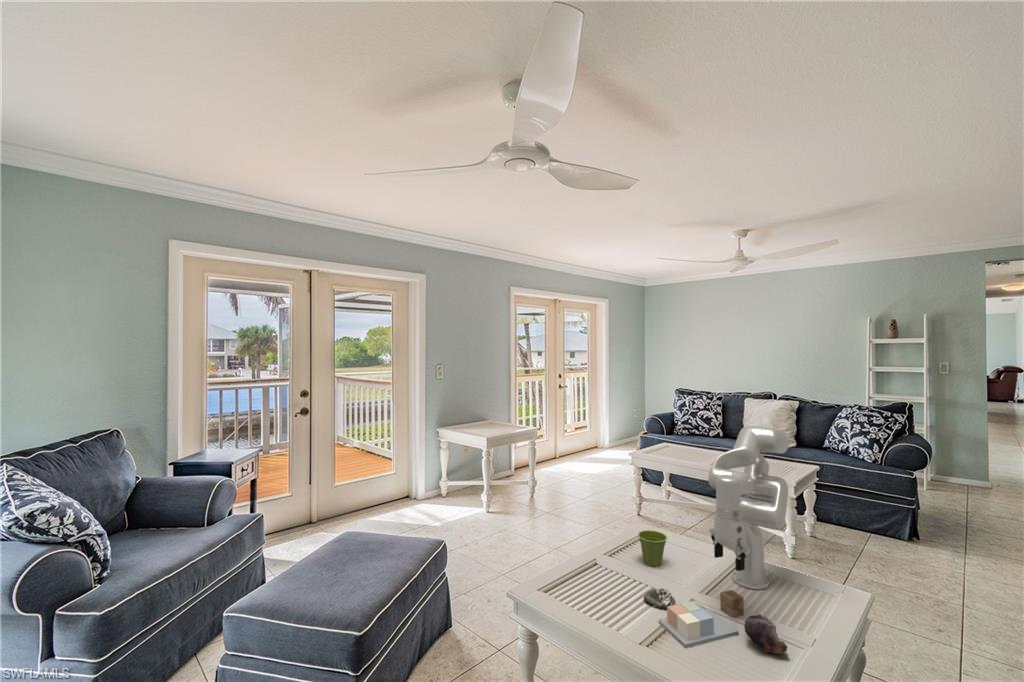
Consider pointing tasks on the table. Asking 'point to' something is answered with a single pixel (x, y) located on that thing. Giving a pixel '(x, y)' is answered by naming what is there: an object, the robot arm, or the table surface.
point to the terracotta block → (675, 614)
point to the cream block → (688, 625)
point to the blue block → (704, 622)
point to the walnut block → (732, 603)
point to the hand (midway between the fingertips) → (729, 563)
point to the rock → (764, 634)
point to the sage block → (691, 606)
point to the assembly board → (720, 631)
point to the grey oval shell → (659, 599)
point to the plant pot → (652, 546)
